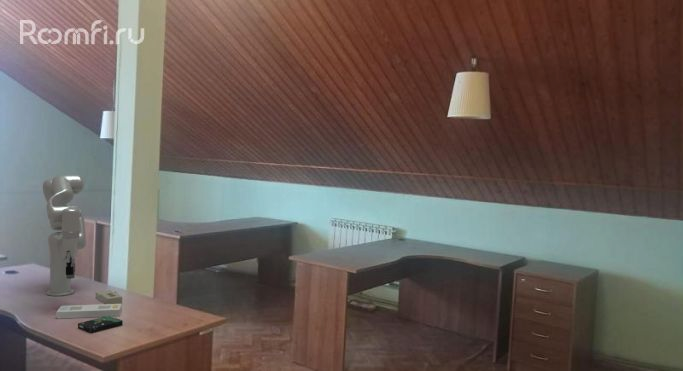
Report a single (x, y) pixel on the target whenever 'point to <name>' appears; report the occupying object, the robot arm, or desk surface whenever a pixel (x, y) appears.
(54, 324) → the desk surface
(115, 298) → the electrical outlet
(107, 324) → the disk drive
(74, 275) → the plug
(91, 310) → the white device panel
